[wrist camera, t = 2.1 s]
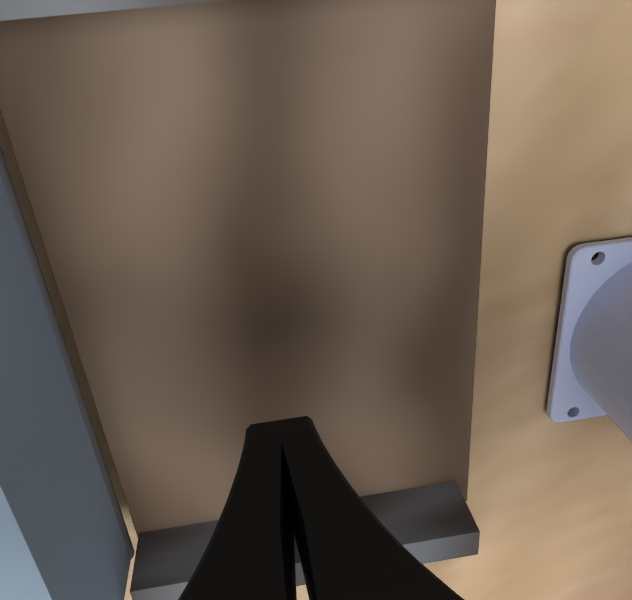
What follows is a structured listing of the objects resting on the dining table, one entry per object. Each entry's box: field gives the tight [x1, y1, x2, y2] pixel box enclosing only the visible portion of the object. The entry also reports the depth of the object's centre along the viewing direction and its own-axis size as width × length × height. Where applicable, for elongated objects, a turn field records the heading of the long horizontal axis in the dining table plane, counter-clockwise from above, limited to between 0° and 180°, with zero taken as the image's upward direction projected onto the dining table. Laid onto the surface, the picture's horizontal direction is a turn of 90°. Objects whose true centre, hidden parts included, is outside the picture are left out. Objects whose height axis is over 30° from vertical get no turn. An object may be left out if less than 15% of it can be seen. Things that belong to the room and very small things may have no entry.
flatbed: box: [0, 0, 496, 600], centre depth 18 cm, size 13×20×4 cm, turn 5°
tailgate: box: [0, 147, 134, 600], centre depth 16 cm, size 1×19×6 cm, turn 5°
